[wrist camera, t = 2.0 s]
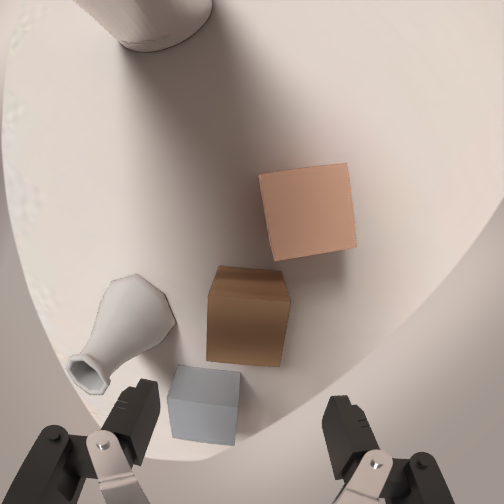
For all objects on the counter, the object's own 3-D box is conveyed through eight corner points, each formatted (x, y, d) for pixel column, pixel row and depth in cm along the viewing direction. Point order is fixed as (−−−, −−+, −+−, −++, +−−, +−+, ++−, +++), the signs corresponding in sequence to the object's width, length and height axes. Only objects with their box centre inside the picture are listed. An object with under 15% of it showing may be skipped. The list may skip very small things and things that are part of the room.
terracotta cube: (258, 176, 21) (260, 174, 15) (321, 167, 20) (347, 162, 15) (268, 240, 22) (274, 261, 16) (330, 229, 22) (356, 247, 16)
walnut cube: (219, 265, 22) (208, 294, 17) (281, 271, 23) (290, 302, 17) (216, 320, 24) (206, 360, 18) (273, 325, 24) (279, 366, 18)
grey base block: (179, 364, 25) (166, 397, 20) (240, 371, 25) (238, 407, 20) (181, 404, 26) (172, 437, 22) (236, 411, 27) (234, 445, 22)
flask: (190, 324, 24) (159, 401, 14) (137, 355, 25) (96, 424, 15) (139, 258, 22) (76, 307, 13) (90, 298, 23) (29, 351, 14)
